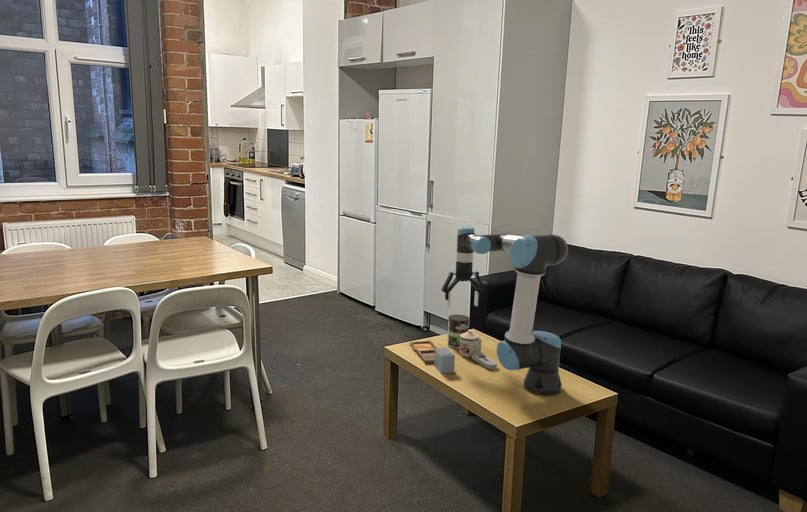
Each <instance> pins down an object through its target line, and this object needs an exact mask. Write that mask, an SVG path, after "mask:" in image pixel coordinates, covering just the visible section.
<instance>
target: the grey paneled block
mask: <svg viewBox="0 0 807 512" xmlns="http://www.w3.org/2000/svg"><path fill="white" fill-rule="evenodd" d="M437 348H438V347H437ZM455 360H456V355H455V354H454V352H453V351H451V350H450V348H448V347H442V348H441V347H440V348H438V349H435V358H434V364H433V367H435V368H436V370H437V371H438V372H439V373H440V374H450V373H455Z"/></svg>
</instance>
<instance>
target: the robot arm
mask: <svg viewBox="0 0 807 512" xmlns="http://www.w3.org/2000/svg"><path fill="white" fill-rule="evenodd" d="M475 233H476V231H475V229H474V227H471V226H461V227H459V228H458V229H457V235H456V236H457V237H456V238H457V239H456V257H455V258H456V259H455V260H456V262H455V271H452V270H450V271H448V275H447V278H446V280H445V282H444V284H443V286H442V288H441V292H443V293H445V294H444V298H445V301H446V307H447V308H451V298H452V297H451V295H452V294H451V291H453V289H454V288H455V287H456V285H457V284H458V283H460V282H468V281H469V284H471V286H472V287H473V288H474V289H475V291H474V301H473V302H474V303H473V306H475V307H479V299H481V293H482V292H484V291H485V290H486V289H485V286H484V285H483V284H484V283H483V282H482V279H481V277H480V272H479V271H478V270H474V271H473V260H474V253H476V254H480V255H485V254H487V253H490V252H491V253H492V252H507V253H509V260H510V263H511V265H512V266H513V267H514V268H513V269H514V271H515V272H516V274H517V276H516V283H515V290H514V295H513V302H512V303H513V304H512V311H511V316H510V317H511V318H510V325H509V330H507V331H506V332H505V333H504V339H503V340H501V341H499V342H498V343H497V345H496V356H497V359H498V361H499V363H500V364H501V366H502V367H503V368H504V369H506V370H508V371H519V370H522V369H528V370H527V372H526V374H525V377H524V379H523V387H524V389H525V390H527V391H528V392H530V393H532V394H535V395H540V396H556V395H558V394H560V393H561V392H562V387H563V386H562V381H561V375H560V374H559V373H560V372H559V369H560V359H561V349H562V345H561V344H562V339H561V338H560V336H558V334H555V333H553V332H552V333H551V332H548V331H543V330H534V331H533V327H534V321H535V315H536V309H537V302H538V295H539V289H540V282H541V278H542V277H543V276H545V274H546V271H547V267H549V266H555V265H558V264H560V263H562V262H563V261H564V260H565V259H566V257H567V256H568V253H569V248H568V247H569V245H568V243H567V242H566V240H565V238H563V237H562V236H560V235H557V234H542V235H541V234H539V235H538V234H537V235H515V234H512V233H502V234H501V233H497V234H475ZM473 276H474V277H475V280H476V282H477V284H478V285H477V284H476V282H475V281H474V279H473V278H472V277H473ZM453 277H454V278H453ZM452 279H453V280H452ZM451 281H452V282H451Z"/></svg>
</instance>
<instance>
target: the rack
mask: <svg viewBox="0 0 807 512" xmlns="http://www.w3.org/2000/svg"><path fill="white" fill-rule="evenodd" d="M409 346H410V348H411V349H412V350H413V351H414V353H416V354H417V356H418V358H420V359H421V361H422V362H423V363H424V365H431V364H433V365H434V358H435V349H438V347H437V346H436V345H435V344H434V342H433V341H432V340H425V341H424V340H423V341H422V340H421V341H410V342H409Z"/></svg>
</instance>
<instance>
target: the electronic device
mask: <svg viewBox="0 0 807 512" xmlns="http://www.w3.org/2000/svg"><path fill="white" fill-rule="evenodd" d="M471 358H472V360H473V361H474V362H476V363H477V364H479V365H480V366H482V367H484V368H485V369H487V370H490V371H491V370H492V371H493V370H496V369H497V368H498V363H497V361H495V360H493V359H492V358H490V357H489V356H487V355H486V354H484V353H482V339H481V338H479V339H478V342H477V350H476V352H475V353H473V354H472V357H471Z"/></svg>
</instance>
